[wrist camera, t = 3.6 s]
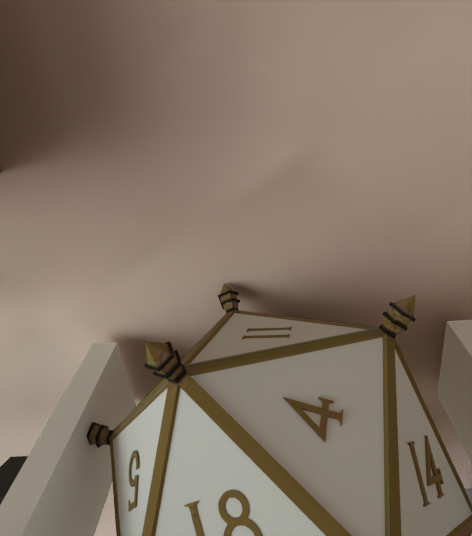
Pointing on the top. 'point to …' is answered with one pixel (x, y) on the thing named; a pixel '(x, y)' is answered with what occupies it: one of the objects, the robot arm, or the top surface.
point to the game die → (284, 436)
